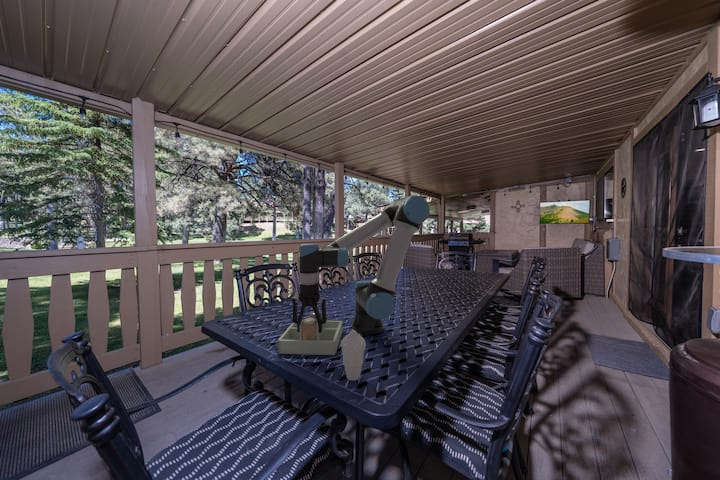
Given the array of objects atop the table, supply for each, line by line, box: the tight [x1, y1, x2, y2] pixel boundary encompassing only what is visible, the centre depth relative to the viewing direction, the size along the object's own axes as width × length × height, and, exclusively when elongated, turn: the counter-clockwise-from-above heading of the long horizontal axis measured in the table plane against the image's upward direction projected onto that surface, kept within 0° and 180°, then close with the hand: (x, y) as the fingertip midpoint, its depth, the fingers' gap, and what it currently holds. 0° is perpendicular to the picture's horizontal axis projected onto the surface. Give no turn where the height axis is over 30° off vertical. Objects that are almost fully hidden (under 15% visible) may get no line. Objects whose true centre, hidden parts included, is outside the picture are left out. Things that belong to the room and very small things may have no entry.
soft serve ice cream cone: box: [339, 329, 367, 382], centre depth 87 cm, size 8×8×16 cm
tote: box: [276, 319, 344, 356], centre depth 112 cm, size 22×22×6 cm
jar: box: [302, 317, 317, 340], centre depth 108 cm, size 6×6×9 cm
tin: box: [308, 310, 323, 328], centre depth 118 cm, size 6×6×10 cm
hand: (309, 340), depth 108 cm, fingers closed on jar, 6 cm apart
